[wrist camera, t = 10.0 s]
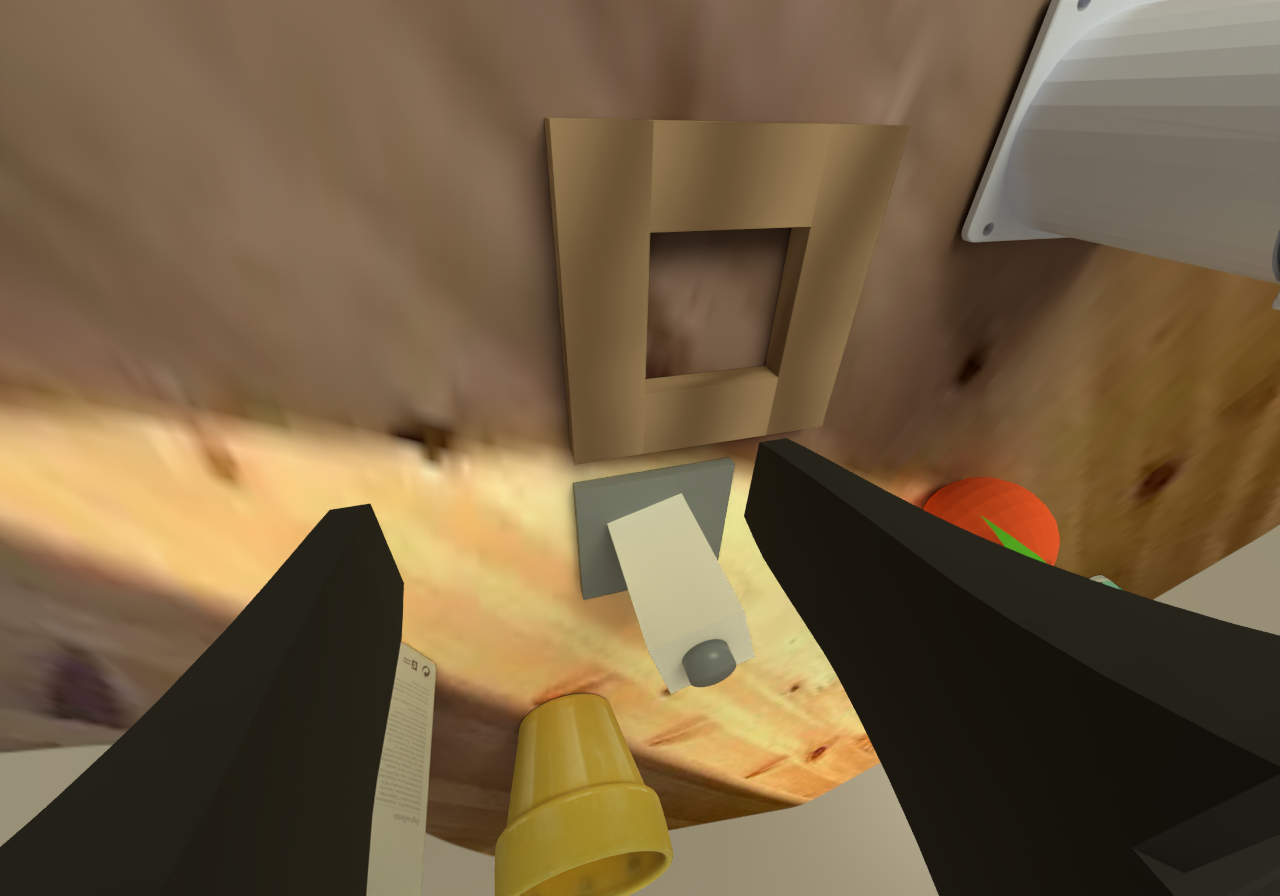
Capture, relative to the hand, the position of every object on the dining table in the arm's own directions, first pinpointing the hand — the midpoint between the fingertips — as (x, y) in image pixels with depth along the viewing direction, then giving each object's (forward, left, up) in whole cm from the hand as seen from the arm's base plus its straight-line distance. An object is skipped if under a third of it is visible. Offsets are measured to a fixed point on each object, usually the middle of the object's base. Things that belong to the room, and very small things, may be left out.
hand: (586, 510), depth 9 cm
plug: (-5, +12, -10) cm, 16 cm away
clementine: (-25, +14, -11) cm, 31 cm away
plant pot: (+1, +30, -11) cm, 32 cm away
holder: (-7, 0, -10) cm, 13 cm away
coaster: (-5, +12, -10) cm, 17 cm away
